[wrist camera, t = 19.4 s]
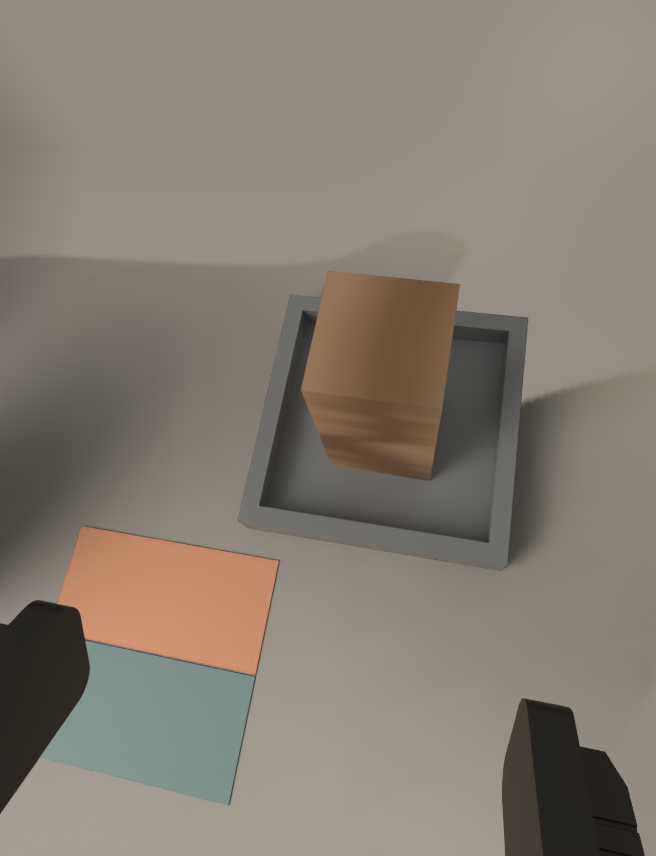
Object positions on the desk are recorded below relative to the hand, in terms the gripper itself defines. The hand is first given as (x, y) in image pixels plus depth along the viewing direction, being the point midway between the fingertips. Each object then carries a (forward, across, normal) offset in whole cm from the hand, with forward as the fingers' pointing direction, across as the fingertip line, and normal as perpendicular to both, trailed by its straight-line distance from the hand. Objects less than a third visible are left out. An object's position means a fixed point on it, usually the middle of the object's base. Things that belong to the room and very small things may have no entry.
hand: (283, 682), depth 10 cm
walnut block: (+18, 0, +4) cm, 19 cm away
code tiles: (+10, +9, +12) cm, 18 cm away
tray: (+19, 0, +4) cm, 19 cm away
